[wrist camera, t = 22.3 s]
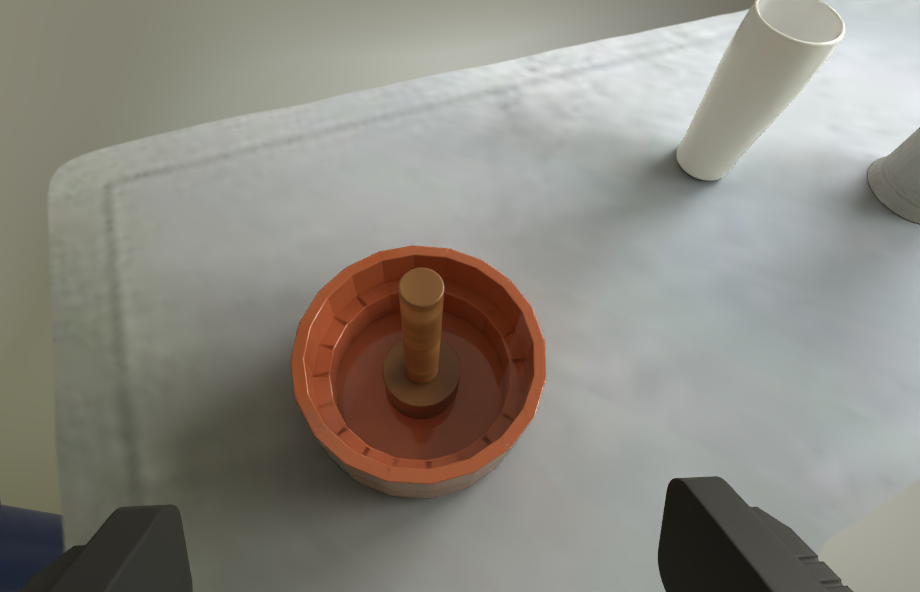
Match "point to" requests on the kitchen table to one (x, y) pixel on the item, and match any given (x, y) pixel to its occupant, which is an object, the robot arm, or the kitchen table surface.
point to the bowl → (362, 385)
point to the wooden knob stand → (421, 350)
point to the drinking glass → (758, 81)
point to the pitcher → (899, 179)
